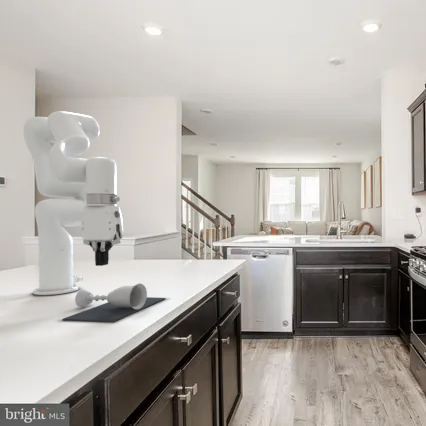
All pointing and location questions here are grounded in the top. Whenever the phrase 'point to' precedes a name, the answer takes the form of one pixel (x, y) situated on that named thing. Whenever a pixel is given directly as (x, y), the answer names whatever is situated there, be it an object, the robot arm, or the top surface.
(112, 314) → the mat
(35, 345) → the top surface
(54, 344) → the top surface
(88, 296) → the chalice
